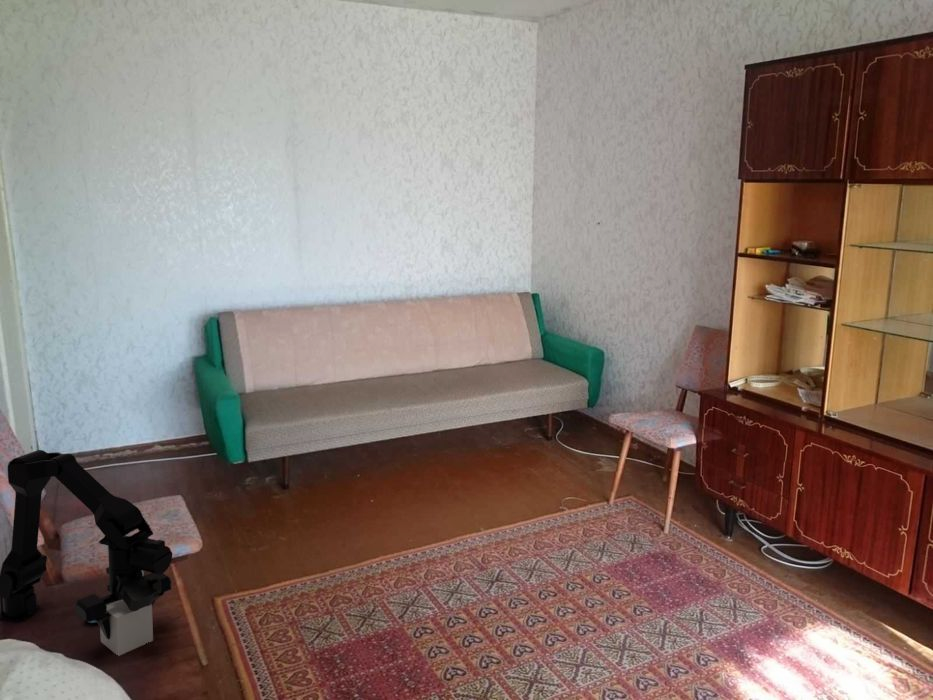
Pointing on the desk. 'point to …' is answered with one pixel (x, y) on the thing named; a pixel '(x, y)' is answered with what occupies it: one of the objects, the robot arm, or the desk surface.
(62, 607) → the desk surface
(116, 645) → the matte white cube
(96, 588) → the desk surface
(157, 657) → the desk surface
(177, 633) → the desk surface
